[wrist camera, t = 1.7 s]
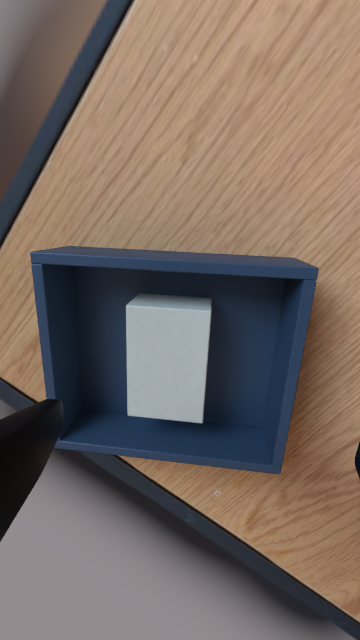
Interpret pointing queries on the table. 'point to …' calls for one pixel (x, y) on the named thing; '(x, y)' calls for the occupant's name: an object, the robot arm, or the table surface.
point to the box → (223, 355)
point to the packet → (167, 356)
